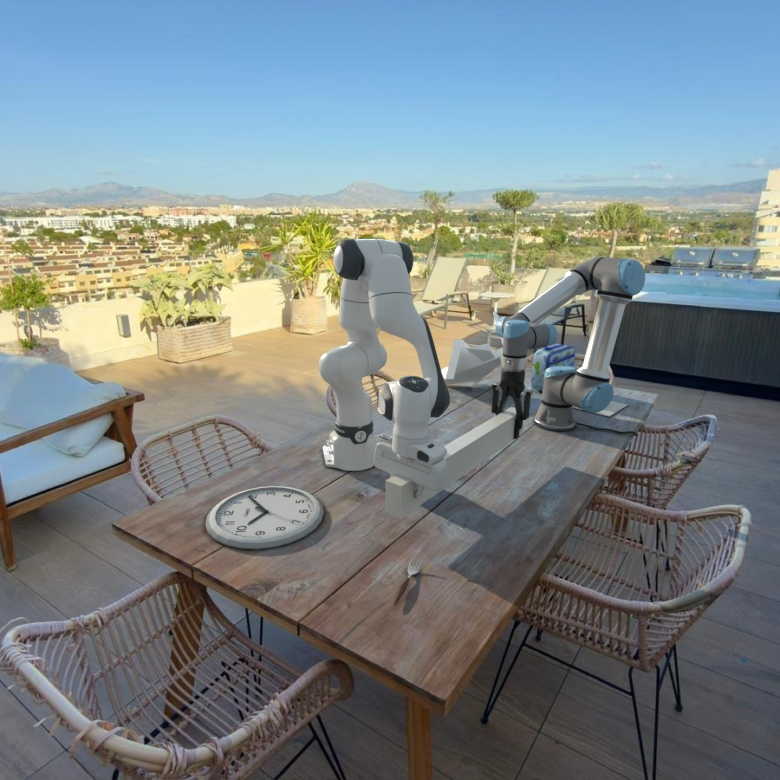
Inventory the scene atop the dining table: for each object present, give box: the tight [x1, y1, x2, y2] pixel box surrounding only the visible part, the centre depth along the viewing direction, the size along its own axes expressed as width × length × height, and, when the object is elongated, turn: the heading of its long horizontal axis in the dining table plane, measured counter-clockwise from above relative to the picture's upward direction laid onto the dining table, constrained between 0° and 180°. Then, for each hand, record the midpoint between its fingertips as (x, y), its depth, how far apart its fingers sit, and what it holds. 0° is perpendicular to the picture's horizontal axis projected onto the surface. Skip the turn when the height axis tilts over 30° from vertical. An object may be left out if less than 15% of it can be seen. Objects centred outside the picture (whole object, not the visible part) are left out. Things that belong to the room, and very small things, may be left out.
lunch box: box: [530, 343, 576, 392], centre depth 248 cm, size 26×11×21 cm, turn 134°
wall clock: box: [205, 485, 325, 550], centre depth 137 cm, size 30×2×30 cm
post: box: [385, 406, 524, 519], centre depth 152 cm, size 69×5×9 cm, turn 142°
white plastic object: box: [441, 310, 529, 390], centre depth 245 cm, size 37×45×31 cm
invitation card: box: [573, 400, 629, 418], centre depth 226 cm, size 21×1×15 cm
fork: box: [393, 553, 424, 606], centre depth 112 cm, size 3×16×2 cm, turn 160°
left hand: (407, 493), depth 131 cm, fingers closed on post, 5 cm apart
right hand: (508, 435), depth 175 cm, fingers closed on post, 5 cm apart
